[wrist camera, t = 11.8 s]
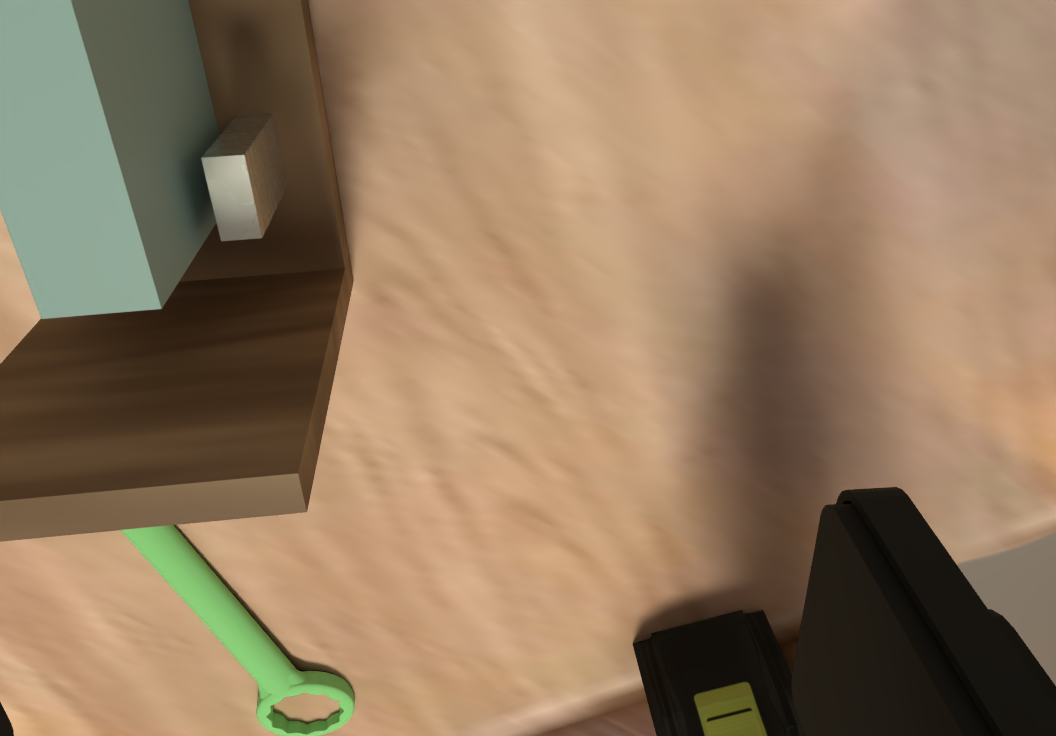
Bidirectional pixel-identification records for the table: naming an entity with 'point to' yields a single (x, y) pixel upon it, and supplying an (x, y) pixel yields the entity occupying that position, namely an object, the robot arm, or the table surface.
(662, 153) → the table surface
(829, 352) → the table surface
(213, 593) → the wrench
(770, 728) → the cordless drill
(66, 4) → the pale teal rectangular block
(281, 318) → the cabinet base
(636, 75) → the table surface
